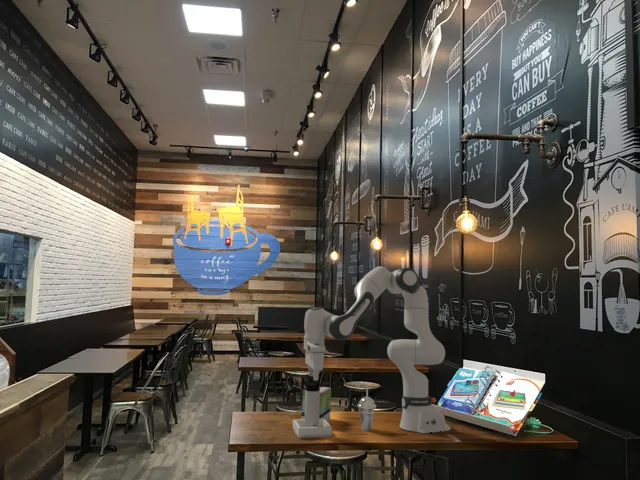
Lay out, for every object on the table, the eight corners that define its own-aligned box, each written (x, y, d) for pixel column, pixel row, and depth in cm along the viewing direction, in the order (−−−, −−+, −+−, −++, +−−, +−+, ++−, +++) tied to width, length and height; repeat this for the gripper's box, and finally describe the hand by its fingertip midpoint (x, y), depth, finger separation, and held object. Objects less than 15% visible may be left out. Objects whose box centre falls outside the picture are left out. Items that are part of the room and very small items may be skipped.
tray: (324, 428, 223) (324, 418, 224) (331, 437, 210) (331, 427, 210) (292, 429, 220) (292, 419, 221) (298, 438, 207) (298, 428, 207)
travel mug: (318, 433, 211) (319, 383, 214) (302, 431, 213) (303, 383, 215) (321, 429, 217) (322, 381, 220) (306, 428, 219) (307, 380, 221)
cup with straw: (367, 433, 217) (367, 385, 219) (351, 428, 224) (352, 382, 226) (379, 429, 223) (380, 383, 225) (364, 425, 230) (365, 380, 232)
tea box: (322, 426, 226) (322, 392, 228) (300, 424, 229) (301, 390, 231) (330, 418, 241) (331, 386, 242) (310, 416, 243) (311, 385, 245)
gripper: (302, 342, 228) (301, 373, 227) (311, 348, 208) (310, 382, 207) (316, 342, 229) (315, 373, 228) (326, 348, 209) (325, 382, 208)
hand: (313, 378), depth 217 cm, fingers open, 8 cm apart
